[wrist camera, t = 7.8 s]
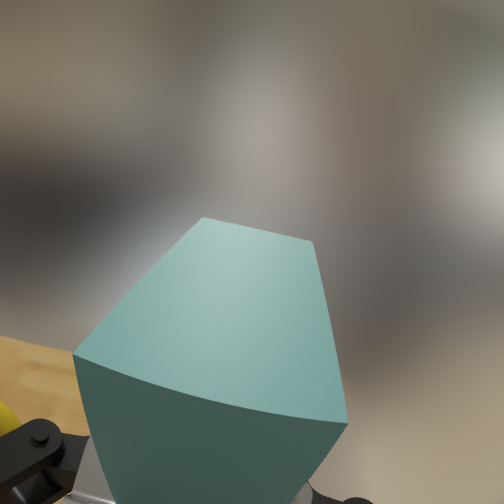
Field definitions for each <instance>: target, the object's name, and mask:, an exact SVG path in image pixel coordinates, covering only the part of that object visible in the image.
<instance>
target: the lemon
mask: <svg viewBox="0 0 504 504" xmlns="http://www.w3.org/2000/svg"><path fill="white" fill-rule="evenodd" d="M20 426H22V424H21V422H20V420H19V419H18V418H17V416H16V415H15V414H14V412H13V411H12V410H11V409H10V408H9V407H8V406H7V405H5V404H4V403H3V402H0V437H1V436H3V435H5V434H7V433H9V432H11V431H12V430H14V429H16V428H18V427H20Z"/></svg>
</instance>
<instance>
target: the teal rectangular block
mask: <svg viewBox="0 0 504 504" xmlns="http://www.w3.org/2000/svg"><path fill="white" fill-rule="evenodd" d="M73 360H74V365H75V370H76V375H77V380H78V385H79V389H80V394H81V398H82V402H83V406H84V410H85V414H86V418H87V422H88V425H89V429H90V433H91V436H92V439H93V443H94V446H95V449H96V452H97V455H98V458H99V461H100V464H101V467H102V470H103V473H104V475H105V478H106V481H107V483H108V486H109V489H110V491H111V494H112V496H113V499H114V501H115V503H116V504H289V503H290V502H291V501H292V500H293V499H294V497H295V496H296V495H297V494H298V492H299V491H300V490H301V489H302V488H303V486H304V485H305V484H306V482H307V481H308V480H309V478H310V477H311V476H312V475H313V473H314V472H315V471H316V469H317V468H318V467H319V465H320V464H321V463H322V461H323V460H324V458H325V457H326V456H327V454H328V453H329V451H330V450H331V448H332V447H333V446H334V444H335V443H336V441H337V440H338V438H339V437H340V435H341V434H342V432H343V431H344V429H345V428H346V426H347V425H348V418H347V411H346V405H345V399H344V393H343V387H342V381H341V375H340V370H339V365H338V359H337V354H336V348H335V343H334V338H333V333H332V328H331V323H330V319H329V313H328V309H327V304H326V299H325V295H324V291H323V285H322V281H321V277H320V272H319V268H318V263H317V259H316V255H315V251H314V247H313V242H311V241H307V240H303V239H298V238H294V237H290V236H285V235H281V234H276V233H272V232H268V231H263V230H259V229H255V228H250V227H246V226H240V225H237V224H232V223H228V222H223V221H218V220H214V219H208V218H204V217H203V218H201V219H200V220H199V221H198V222H197V223H196V224H195V225H194V226H193V227H192V228H191V229H190V230H189V231H188V232H187V233H186V234H185V235H184V236H183V237H182V238H181V239H180V240H179V241H178V242H177V243H176V244H175V245H174V246H173V247H172V248H171V249H170V250H169V251H168V252H167V253H166V254H165V255H164V256H163V257H162V258H161V259H160V260H159V261H158V262H157V263H156V264H155V265H154V266H153V267H152V268H151V269H150V270H149V271H148V272H147V273H146V274H145V276H143V278H142V279H141V280H140V281H139V282H138V283H137V284H136V285H135V286H134V287H133V288H132V289H131V290H130V291H129V292H128V293H127V294H126V296H124V298H123V299H122V300H121V301H120V302H119V303H118V304H117V305H116V306H115V307H114V308H113V309H112V311H110V313H109V314H108V315H107V316H106V317H105V318H104V319H103V320H102V321H101V322H100V324H99V325H98V326H97V327H96V328H95V329H94V330H93V331H92V332H91V334H90V335H89V336H88V337H87V338H86V339H85V340H84V341H83V342H82V344H81V345H80V346H79V347H78V348H77V349H76V350H75V352H74V353H73Z"/></svg>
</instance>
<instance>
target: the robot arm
mask: <svg viewBox="0 0 504 504" xmlns="http://www.w3.org/2000/svg"><path fill="white" fill-rule="evenodd" d="M71 491H72V492H71ZM70 492H71V494H70V495H67V494H68V493H70ZM65 495H66V496H65ZM64 496H65V497H64ZM62 497H64V498H63V500H62V502H61V504H116V503H115V501H114V499H113V496H112V494H111V491H110V489H109V486H108V483H107V481H106V478H105V475H104V473H103V470H102V467H101V464H100V461H99V458H98V455H97V452H96V449H95V446H94V443H93V439H92V436H78V435H71V434H65V433H61V431H60V429H59V428H58V426H57V425H56V424H54V423H53V422H51V421H49V420H46V419H34V420H31V421H29V422H27V423H25V424H24V425H22V426H20V427H18V428H16V429H14V430H12V431H11V432H9V433H7V434H5V435H3V436H1V437H0V504H53V503H55V502H56V501H58V500H59V499H61V498H62ZM289 504H373V503H372V502H370V501H368V500H366V499H363V498H359V497H358V498H357V497H354V498H349V499H347V500H345V501H343V502H341V501H338V500H335V499H332V498H329V497H326V496H323V495H321V494H319V493H318V492H316V491H315V490H314V489H313V488H312V487H311V486H310V484H309V482H308V481H307V482H306V484H305V485H304V486H303V488H302V489H301V490H300V491H299V492H298V494H297V495H296V496H295V497H294V499H293V500H292V501H291V502H290V503H289Z"/></svg>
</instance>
